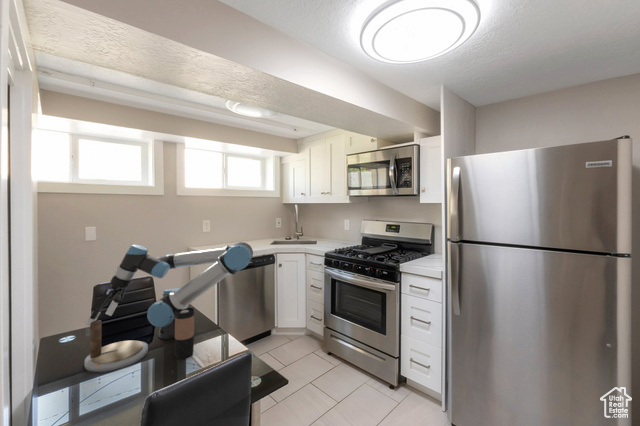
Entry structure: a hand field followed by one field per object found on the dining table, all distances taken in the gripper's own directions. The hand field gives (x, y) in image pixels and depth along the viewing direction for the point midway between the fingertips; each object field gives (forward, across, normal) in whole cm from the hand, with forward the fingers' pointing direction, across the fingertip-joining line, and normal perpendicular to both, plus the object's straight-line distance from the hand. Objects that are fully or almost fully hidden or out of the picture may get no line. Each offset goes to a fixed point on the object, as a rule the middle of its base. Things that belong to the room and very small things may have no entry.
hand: (99, 319), depth 124 cm
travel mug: (-5, +10, +42) cm, 44 cm away
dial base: (+8, +8, +17) cm, 20 cm away
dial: (+6, +8, +16) cm, 18 cm away
